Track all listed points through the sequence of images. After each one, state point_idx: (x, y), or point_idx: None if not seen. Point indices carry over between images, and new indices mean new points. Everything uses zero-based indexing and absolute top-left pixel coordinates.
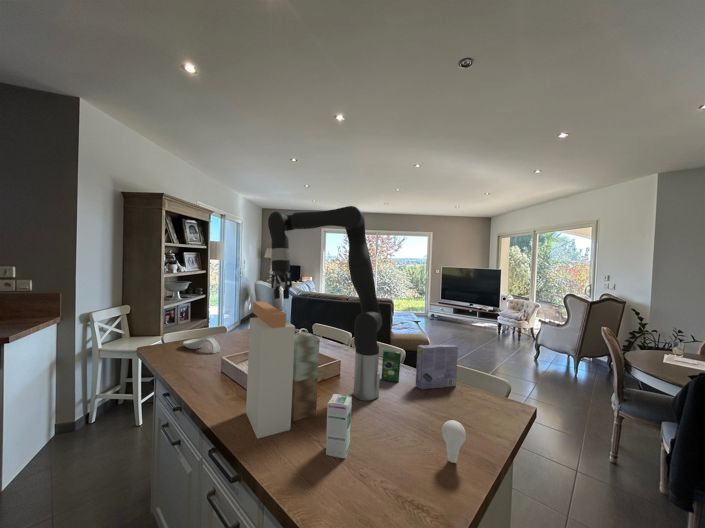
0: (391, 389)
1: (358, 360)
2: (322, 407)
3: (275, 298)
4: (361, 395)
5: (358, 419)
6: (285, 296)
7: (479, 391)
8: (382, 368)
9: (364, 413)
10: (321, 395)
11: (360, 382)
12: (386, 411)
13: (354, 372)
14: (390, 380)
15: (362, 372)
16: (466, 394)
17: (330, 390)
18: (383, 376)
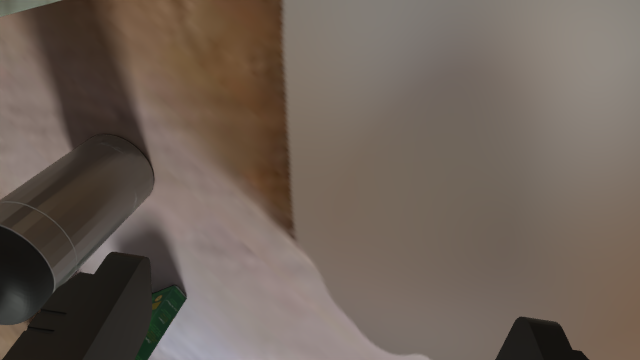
0: (111, 250)
1: (13, 205)
2: (118, 4)
3: (520, 318)
4: (85, 142)
5: (4, 36)
6: (74, 285)
7: (4, 356)
8: (153, 313)
9: (26, 77)
10: (195, 68)
11: (60, 161)
12: (11, 132)
13: (90, 188)
14: (152, 294)
15: (27, 182)
16: (4, 329)
17: (210, 121)
18: (164, 295)
